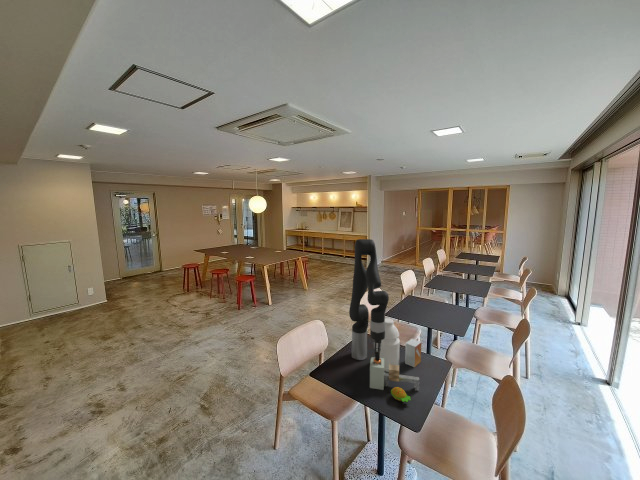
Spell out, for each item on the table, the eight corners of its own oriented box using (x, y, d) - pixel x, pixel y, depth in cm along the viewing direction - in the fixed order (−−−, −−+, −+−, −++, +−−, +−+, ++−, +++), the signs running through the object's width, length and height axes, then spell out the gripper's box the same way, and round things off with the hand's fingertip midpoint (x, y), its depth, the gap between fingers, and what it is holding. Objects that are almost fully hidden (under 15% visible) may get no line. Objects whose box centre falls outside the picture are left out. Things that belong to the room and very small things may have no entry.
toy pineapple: (396, 391, 136) (397, 381, 135) (413, 403, 128) (414, 392, 127) (387, 397, 132) (387, 387, 131) (404, 409, 124) (404, 398, 123)
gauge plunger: (373, 377, 140) (373, 361, 139) (373, 372, 144) (373, 357, 143) (380, 378, 139) (381, 362, 138) (381, 373, 143) (381, 358, 142)
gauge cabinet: (369, 387, 139) (369, 366, 137) (371, 377, 147) (371, 356, 146) (383, 390, 137) (383, 368, 136) (384, 379, 146) (384, 358, 144)
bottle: (397, 359, 164) (397, 315, 161) (401, 373, 151) (402, 325, 147) (373, 358, 166) (374, 315, 162) (376, 371, 152) (376, 325, 149)
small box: (414, 368, 155) (415, 346, 154) (404, 363, 160) (405, 343, 158) (421, 362, 161) (421, 341, 159) (411, 358, 165) (411, 338, 164)
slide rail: (383, 385, 140) (383, 375, 139) (383, 382, 143) (384, 372, 142) (419, 391, 136) (419, 380, 135) (418, 388, 138) (418, 377, 137)
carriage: (388, 380, 138) (389, 369, 137) (389, 374, 142) (389, 364, 142) (399, 381, 137) (399, 370, 136) (398, 376, 141) (398, 365, 140)
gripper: (371, 322, 146) (371, 352, 148) (369, 333, 133) (369, 366, 135) (385, 323, 144) (384, 354, 146) (384, 335, 131) (384, 368, 133)
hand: (377, 359), depth 141 cm, fingers closed
